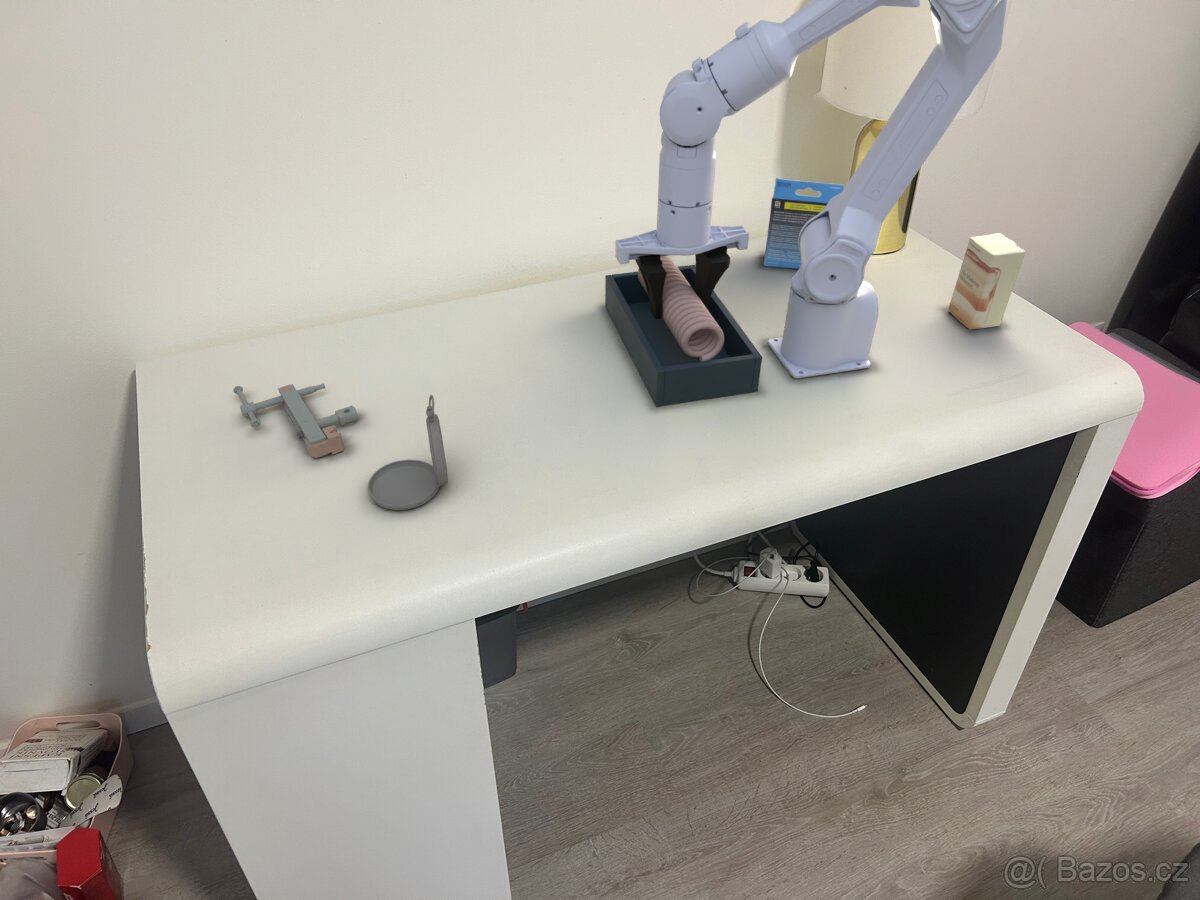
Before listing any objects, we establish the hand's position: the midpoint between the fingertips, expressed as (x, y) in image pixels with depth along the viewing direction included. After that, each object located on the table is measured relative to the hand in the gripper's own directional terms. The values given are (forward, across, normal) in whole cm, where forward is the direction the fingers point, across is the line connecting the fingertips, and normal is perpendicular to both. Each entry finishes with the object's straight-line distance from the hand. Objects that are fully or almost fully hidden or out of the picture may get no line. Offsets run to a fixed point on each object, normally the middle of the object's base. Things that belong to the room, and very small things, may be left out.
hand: (678, 311), depth 97 cm
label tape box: (+5, -22, -16) cm, 28 cm away
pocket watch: (+5, +32, +18) cm, 37 cm away
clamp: (+5, +42, +4) cm, 43 cm away
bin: (+5, 0, 0) cm, 5 cm away
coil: (+2, 0, 0) cm, 2 cm away
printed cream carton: (+5, -38, +3) cm, 38 cm away
